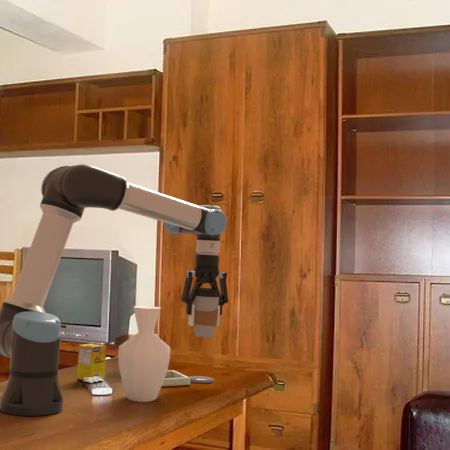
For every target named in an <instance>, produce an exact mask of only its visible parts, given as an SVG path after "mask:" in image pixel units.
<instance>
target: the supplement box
mask: <svg viewBox="0 0 450 450" xmlns="http://www.w3.org/2000/svg"><path fill="white" fill-rule="evenodd" d="M77 354H78V357H77V373H76V375H77V376H76V381H77V382H80V383H81V382H82V383H84V382H83V378H84V377H94V376H101V377H102V378H103V379H104V380H105V374H106V373H105V372H106V359H107V358H106V357H107V356H106V354H107V345H103V344H98V343H83V344H79V345H78V353H77Z"/></svg>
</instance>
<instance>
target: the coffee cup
mask: <svg viewBox="0 0 450 450" xmlns="http://www.w3.org/2000/svg"><path fill="white" fill-rule="evenodd" d="M219 289H220V288H218V289H216V290H214V289H212V288H211V287H200V289H197V292H196V295H195V296H196V298H195V300H194V302H193V305H195V313H194V326H193V329H194V331H193V332H194V333H193V334H194V336H195V337H197V338H199V337H200V338H214V336H215V331H216V327H217V326H216V320H217V312H218V302H219V297H220V295H221V292H220V290H219ZM219 292H220V293H219ZM219 294H220V295H219Z"/></svg>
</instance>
